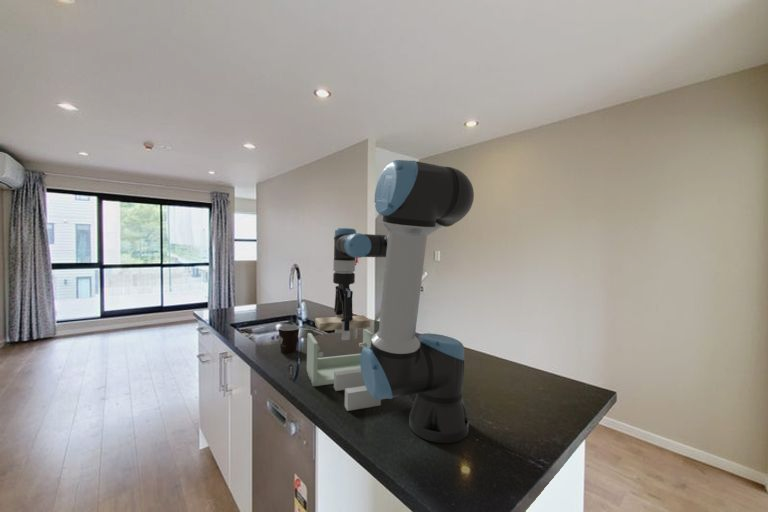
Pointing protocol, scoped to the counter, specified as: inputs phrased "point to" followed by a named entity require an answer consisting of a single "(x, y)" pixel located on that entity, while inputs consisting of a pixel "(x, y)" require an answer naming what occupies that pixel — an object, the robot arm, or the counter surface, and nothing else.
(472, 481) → the counter surface
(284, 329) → the coffee mug
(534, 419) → the counter surface
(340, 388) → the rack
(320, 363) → the shelf unit
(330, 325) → the stacked rolled towels
